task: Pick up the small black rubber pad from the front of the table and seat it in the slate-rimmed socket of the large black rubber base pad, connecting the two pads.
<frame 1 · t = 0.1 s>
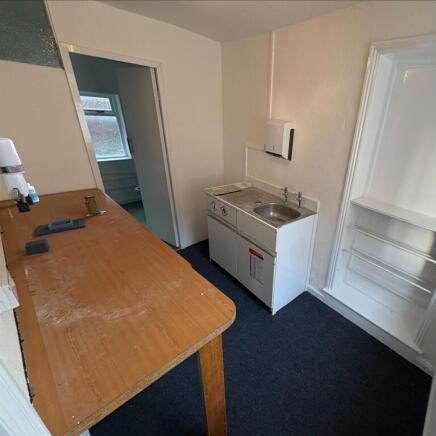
hand: (27, 208, 102), 21 cm above the table, tool pointing down, fingers open, 9 cm apart
condiment: (96, 213, 152), on the table
small pad: (39, 250, 109), on the table
pill bottle: (32, 202, 165), on the table
base pad: (62, 227, 132), on the table
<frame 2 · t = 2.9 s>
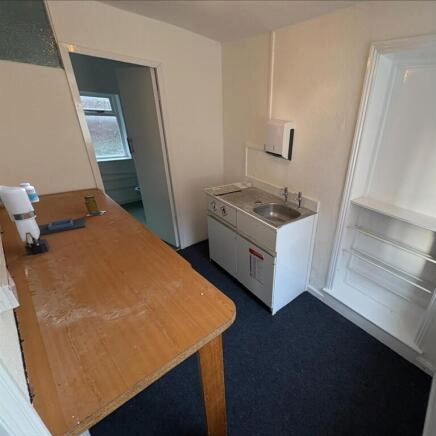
hand: (39, 250, 109), 0 cm above the table, tool pointing down, fingers closed on small pad, 5 cm apart
small pad: (39, 250, 109), on the table, touching gripper
everything else where it was.
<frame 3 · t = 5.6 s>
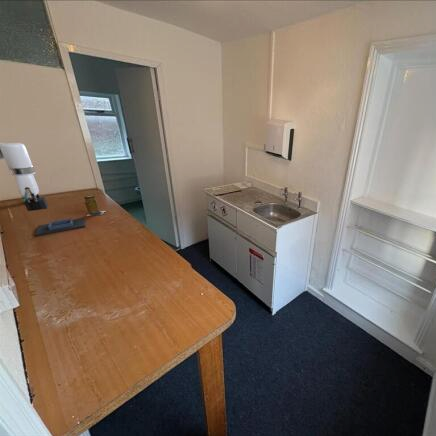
hand: (37, 207, 113), 17 cm above the table, tool pointing down, fingers closed on small pad, 5 cm apart
small pad: (38, 208, 113), point 17 cm above the table, touching gripper
everything else where it was.
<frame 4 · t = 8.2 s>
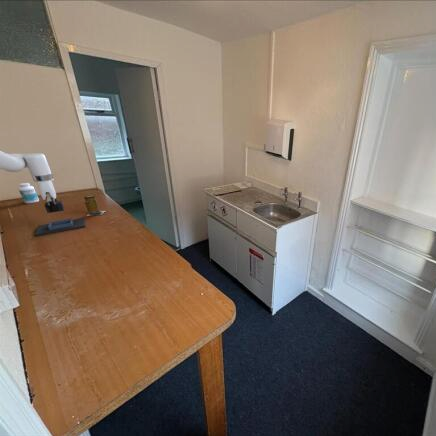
hand: (55, 209, 128), 11 cm above the table, tool pointing down, fingers closed on small pad, 5 cm apart
small pad: (56, 210, 128), point 10 cm above the table, touching gripper
everything else where it was.
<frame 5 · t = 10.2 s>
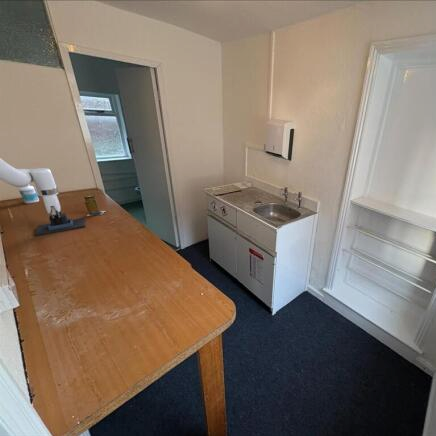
hand: (59, 222, 131), 3 cm above the table, tool pointing down, fingers closed on small pad, 5 cm apart
small pad: (60, 222, 131), point 3 cm above the table, touching gripper
everything else where it was.
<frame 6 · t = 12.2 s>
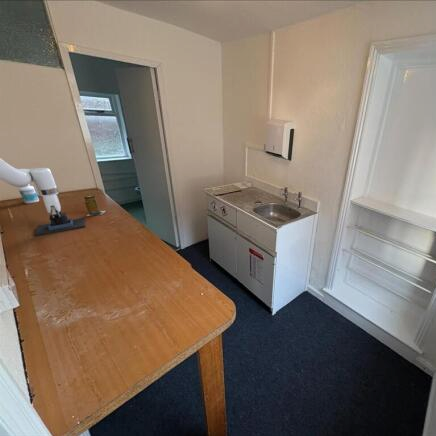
hand: (60, 221, 131), 3 cm above the table, tool pointing down, fingers closed on small pad, 4 cm apart
small pad: (60, 222, 131), point 3 cm above the table, touching gripper
everything else where it was.
when the fingers open (3 cm above the table, at t = 13.9 s): small pad drops 2 cm, resting on base pad.
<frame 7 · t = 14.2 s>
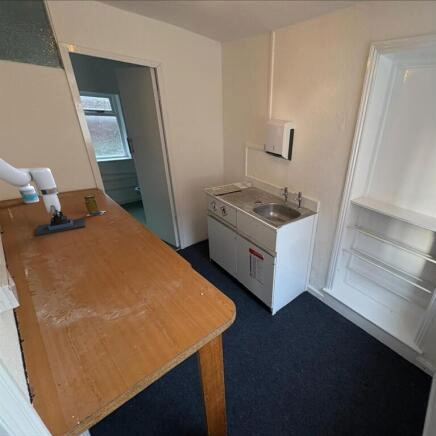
hand: (59, 220, 131), 4 cm above the table, tool pointing down, fingers open, 8 cm apart
small pad: (61, 225, 132), point 1 cm above the table, touching base pad
everything else where it was.
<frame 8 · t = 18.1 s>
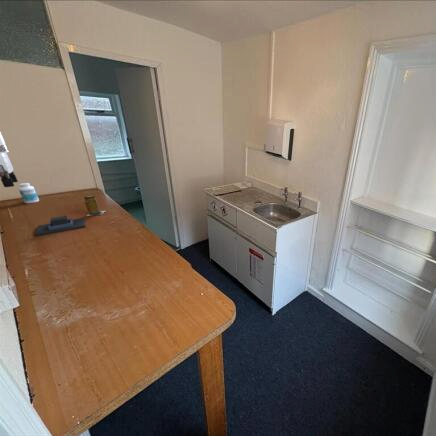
hand: (11, 184, 116), 26 cm above the table, tool pointing down, fingers open, 9 cm apart
nothing on the table moved.
at the end: small pad 0.1 cm off-centre on the base pad, point 1.0 cm above the base pad's base; small pad tilted 0°; the gripper is holding nothing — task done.
